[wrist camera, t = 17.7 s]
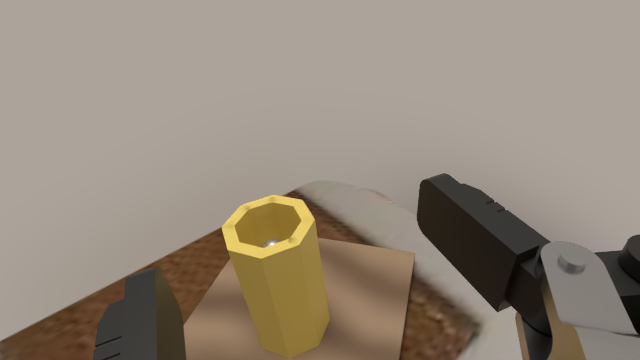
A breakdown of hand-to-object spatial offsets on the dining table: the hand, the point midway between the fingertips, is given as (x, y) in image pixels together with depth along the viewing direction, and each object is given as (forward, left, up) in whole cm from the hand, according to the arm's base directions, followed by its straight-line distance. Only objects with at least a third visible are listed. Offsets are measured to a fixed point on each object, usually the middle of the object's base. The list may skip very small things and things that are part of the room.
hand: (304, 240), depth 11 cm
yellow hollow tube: (+8, +7, -19) cm, 22 cm away
